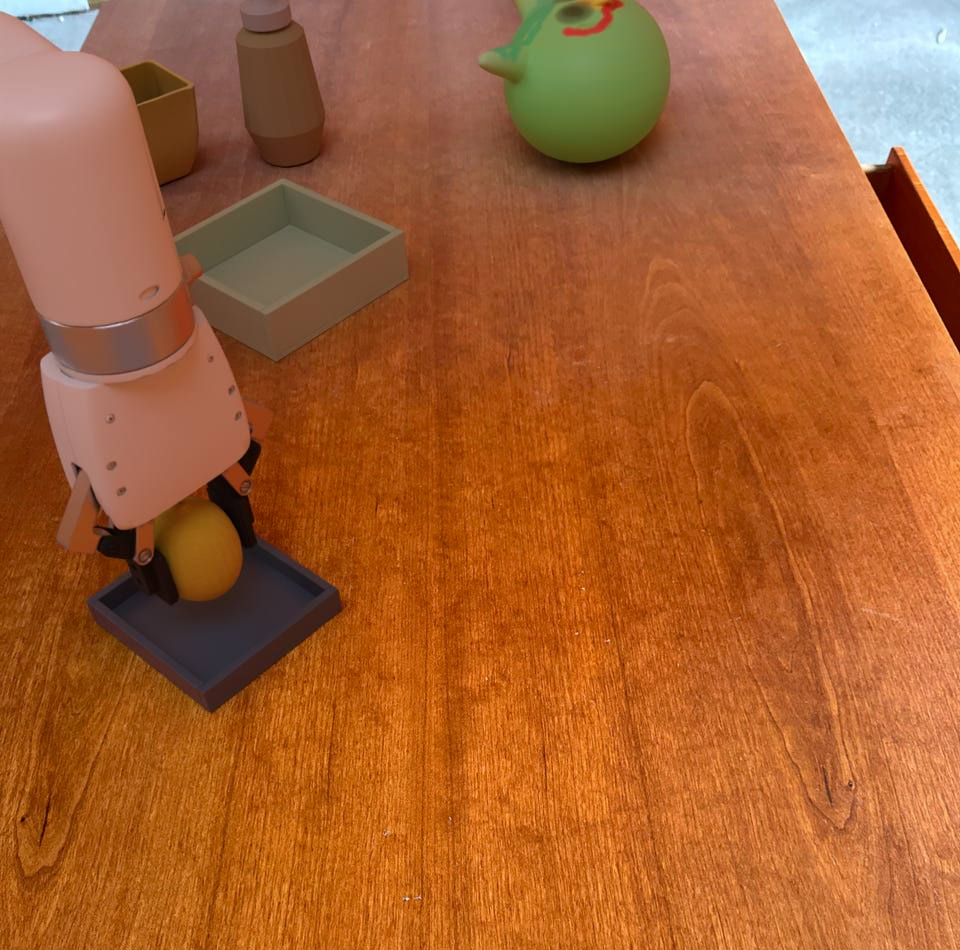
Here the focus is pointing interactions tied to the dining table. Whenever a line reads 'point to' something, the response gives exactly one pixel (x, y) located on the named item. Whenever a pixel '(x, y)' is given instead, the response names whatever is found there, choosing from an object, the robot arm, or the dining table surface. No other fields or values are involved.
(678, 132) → the dining table surface
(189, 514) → the lemon
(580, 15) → the toy bird
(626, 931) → the dining table surface
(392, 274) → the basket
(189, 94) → the flower pot
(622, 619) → the dining table surface
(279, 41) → the squeeze bottle
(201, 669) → the tray
